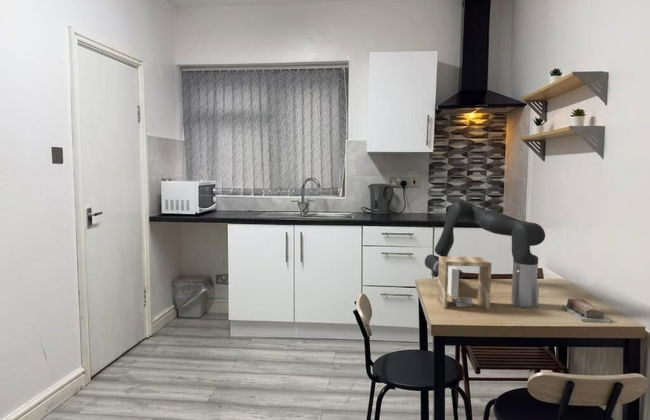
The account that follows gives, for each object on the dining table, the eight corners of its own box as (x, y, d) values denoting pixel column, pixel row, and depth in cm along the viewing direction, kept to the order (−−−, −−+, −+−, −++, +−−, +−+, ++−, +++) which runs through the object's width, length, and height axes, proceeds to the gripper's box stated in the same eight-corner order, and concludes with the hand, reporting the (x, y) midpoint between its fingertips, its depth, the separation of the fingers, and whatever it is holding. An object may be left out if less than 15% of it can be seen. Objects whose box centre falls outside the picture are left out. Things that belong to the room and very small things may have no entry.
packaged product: (562, 296, 190) (588, 298, 189) (561, 308, 191) (587, 310, 190) (582, 309, 172) (611, 311, 171) (581, 322, 173) (610, 324, 172)
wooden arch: (480, 301, 198) (481, 257, 196) (489, 309, 186) (491, 262, 185) (437, 300, 198) (439, 256, 197) (444, 308, 186) (445, 261, 185)
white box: (451, 290, 217) (452, 263, 216) (458, 296, 205) (459, 269, 204) (444, 289, 217) (445, 263, 216) (451, 296, 205) (452, 269, 204)
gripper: (427, 261, 228) (435, 268, 211) (458, 261, 227) (468, 269, 211) (427, 276, 228) (434, 285, 212) (457, 277, 228) (467, 285, 211)
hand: (451, 277), depth 211 cm, fingers open, 6 cm apart
